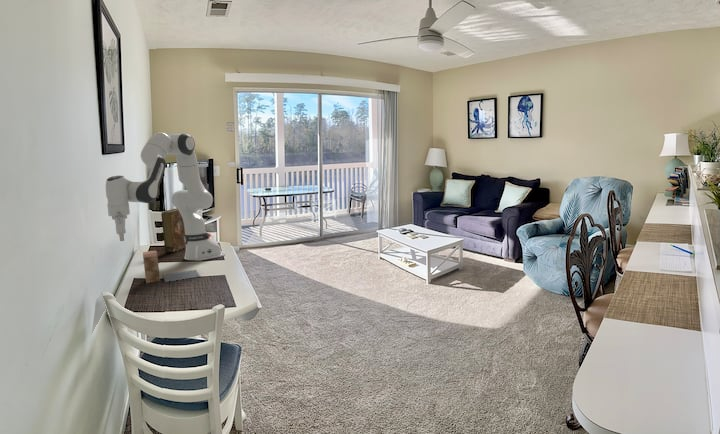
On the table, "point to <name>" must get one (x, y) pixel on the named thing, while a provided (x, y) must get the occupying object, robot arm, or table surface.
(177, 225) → the book
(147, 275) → the walnut block
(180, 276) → the mat
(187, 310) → the table surface
